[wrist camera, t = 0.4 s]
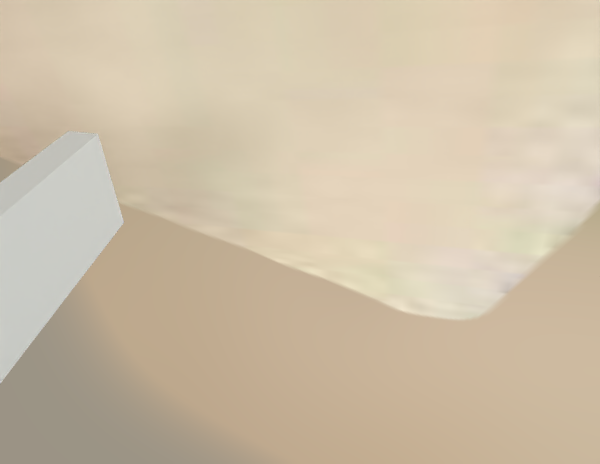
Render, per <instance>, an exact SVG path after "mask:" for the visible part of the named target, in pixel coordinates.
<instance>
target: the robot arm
mask: <svg viewBox="0 0 600 464" xmlns="http://www.w3.org/2000/svg"><path fill="white" fill-rule="evenodd" d="M123 223H124V221H123V217H122V214H121V211H120V207H119V204H118V200H117V197H116V194H115V190H114V187H113V183H112V180H111V177H110V173H109V170H108V166H107V163H106V160H105V156H104V153H103V150H102V146H101V143H100V139H99V136H98V134H94V133H84V132H73V131H68V132H66V133H65V134H64V135H62V136H61V137H60V138H58V139H57V140H56V141H54V142H53V143H52V144H50V145H49V146H48V147H47V148H45V149H44V150H43V151H41V152H40V153H39V154H37V155H36V156H35V157H33V158H32V159H31V160H29V161H28V162H27V163H25V164H24V165H23V166H21V167H20V168H19V169H17V170H16V171H15V172H13V173H12V174H11V175H9V176H8V177H7V178H5V179H4V180H3V181H1V182H0V383H1V382H2V380H3V379H4V378H5V376H6V375H7V374H8V372H9V371H10V370H11V369H12V367H13V366H14V365H15V364H16V362H17V361H18V360H19V358H20V357H21V356H22V354H23V353H24V351H26V349H27V348H28V347H29V345H30V344H31V343H32V341H33V340H34V339H35V337H36V336H37V335H38V334H39V332H40V331H41V330H42V328H43V327H44V326H45V324H46V323H47V322H48V321H49V319H50V318H51V317H52V315H53V314H54V313H55V312H56V310H57V309H58V308H59V306H60V305H61V303H62V302H63V301H64V300H65V299H66V297H67V296H68V295H69V293H70V292H71V291H72V289H73V288H74V287H75V286H76V284H77V283H78V282H79V280H80V279H81V277H82V276H83V275H84V274H85V272H86V271H87V270H88V269H89V267H90V266H91V265H92V263H93V262H94V261H95V260H96V258H97V257H98V256H99V254H100V253H101V252H102V250H103V249H104V248H105V247H106V245H107V244H108V243H109V241H110V240H111V239H112V237H113V236H114V235H115V233H116V232H117V231H118V230H119V228H120V227H121V226H122V224H123Z"/></svg>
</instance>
